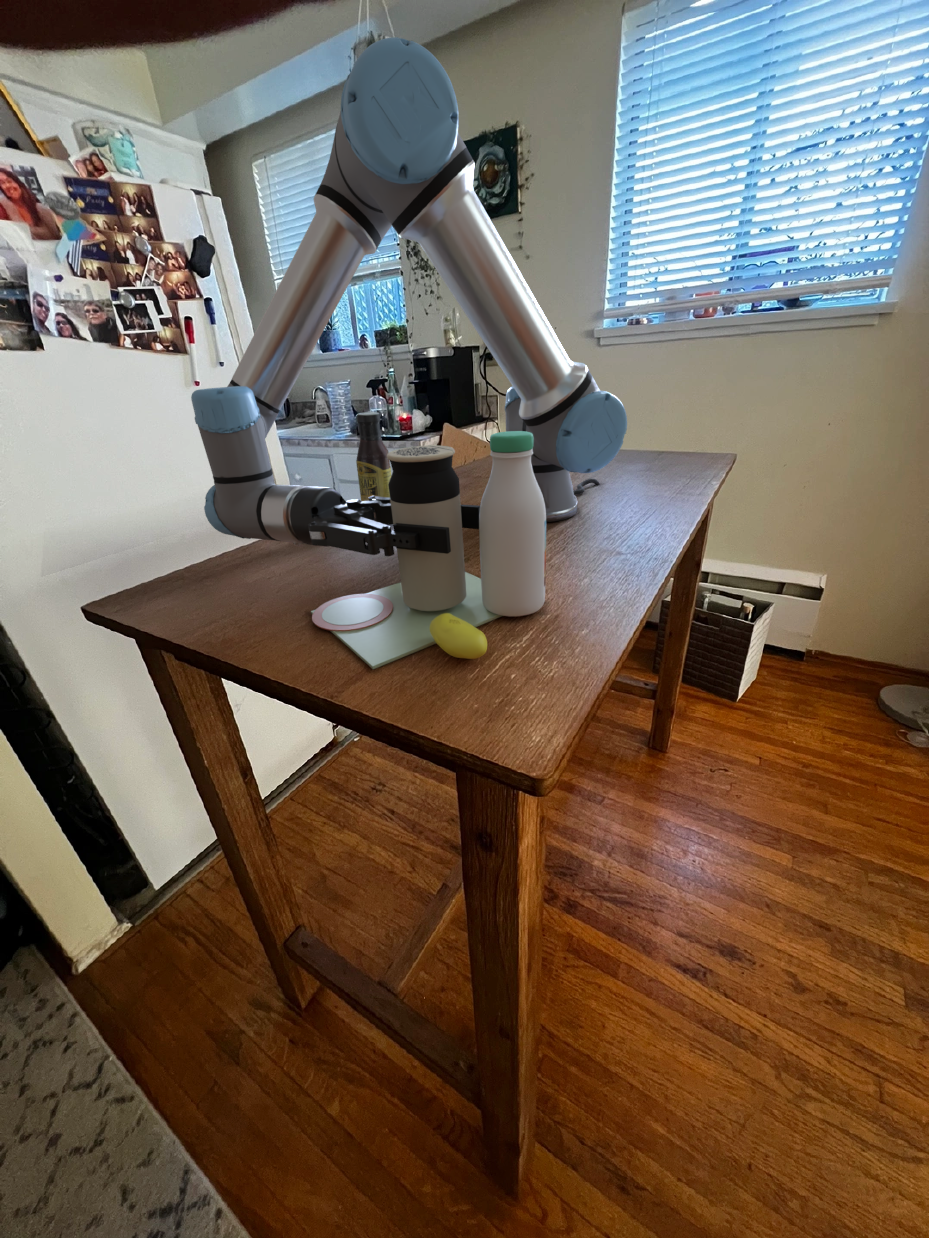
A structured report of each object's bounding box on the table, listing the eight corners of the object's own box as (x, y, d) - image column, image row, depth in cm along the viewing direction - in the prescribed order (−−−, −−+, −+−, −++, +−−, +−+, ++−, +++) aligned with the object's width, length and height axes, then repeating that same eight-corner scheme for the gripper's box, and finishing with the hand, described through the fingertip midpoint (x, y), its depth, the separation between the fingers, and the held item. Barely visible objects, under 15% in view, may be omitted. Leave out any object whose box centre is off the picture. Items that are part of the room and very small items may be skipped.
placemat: (448, 566, 76) (447, 562, 75) (530, 604, 62) (530, 600, 62) (300, 613, 64) (299, 609, 64) (364, 673, 51) (363, 668, 50)
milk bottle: (542, 619, 58) (546, 437, 49) (477, 616, 59) (468, 440, 50) (546, 591, 64) (550, 427, 55) (487, 589, 66) (481, 429, 57)
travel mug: (415, 619, 59) (396, 461, 50) (395, 594, 65) (375, 451, 57) (477, 603, 61) (468, 451, 53) (451, 581, 68) (440, 442, 60)
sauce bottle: (357, 522, 99) (340, 414, 89) (382, 515, 103) (368, 410, 93) (378, 528, 95) (362, 415, 85) (403, 520, 99) (391, 411, 89)
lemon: (451, 629, 57) (450, 599, 55) (497, 661, 51) (497, 628, 49) (420, 642, 55) (417, 611, 53) (465, 676, 49) (464, 643, 47)
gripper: (358, 520, 76) (498, 532, 67) (256, 571, 59) (424, 595, 50) (349, 469, 72) (497, 475, 63) (239, 509, 56) (417, 523, 47)
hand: (464, 528), depth 57 cm, fingers closed on travel mug, 8 cm apart
